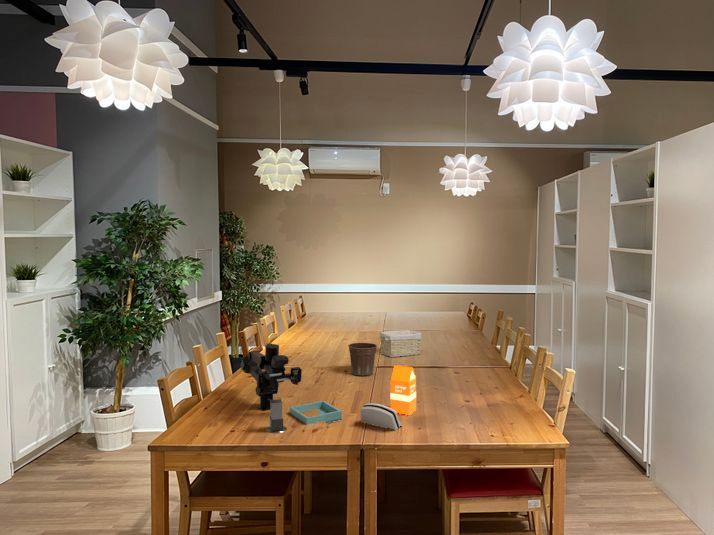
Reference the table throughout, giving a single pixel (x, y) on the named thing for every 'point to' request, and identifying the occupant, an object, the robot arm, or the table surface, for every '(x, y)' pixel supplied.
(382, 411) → the magnetic glass cleaner
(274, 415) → the strut
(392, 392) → the orange juice
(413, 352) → the storage basket
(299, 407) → the bin
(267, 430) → the stud plate
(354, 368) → the plant pot
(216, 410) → the table surface
